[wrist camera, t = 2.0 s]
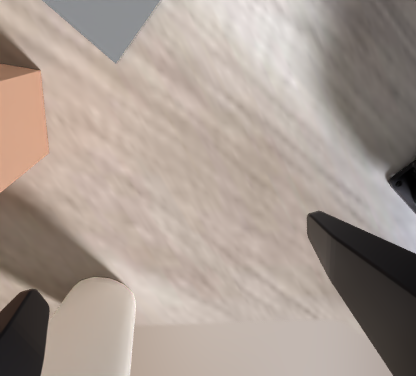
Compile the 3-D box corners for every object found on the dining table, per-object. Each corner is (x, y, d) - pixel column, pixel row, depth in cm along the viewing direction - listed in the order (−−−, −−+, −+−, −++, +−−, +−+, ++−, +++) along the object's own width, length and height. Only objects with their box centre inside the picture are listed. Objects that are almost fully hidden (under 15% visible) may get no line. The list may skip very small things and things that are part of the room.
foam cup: (61, 252, 25) (-55, 437, 14) (162, 279, 27) (132, 462, 16) (49, 318, 30) (-48, 500, 18) (137, 338, 31) (99, 515, 20)
